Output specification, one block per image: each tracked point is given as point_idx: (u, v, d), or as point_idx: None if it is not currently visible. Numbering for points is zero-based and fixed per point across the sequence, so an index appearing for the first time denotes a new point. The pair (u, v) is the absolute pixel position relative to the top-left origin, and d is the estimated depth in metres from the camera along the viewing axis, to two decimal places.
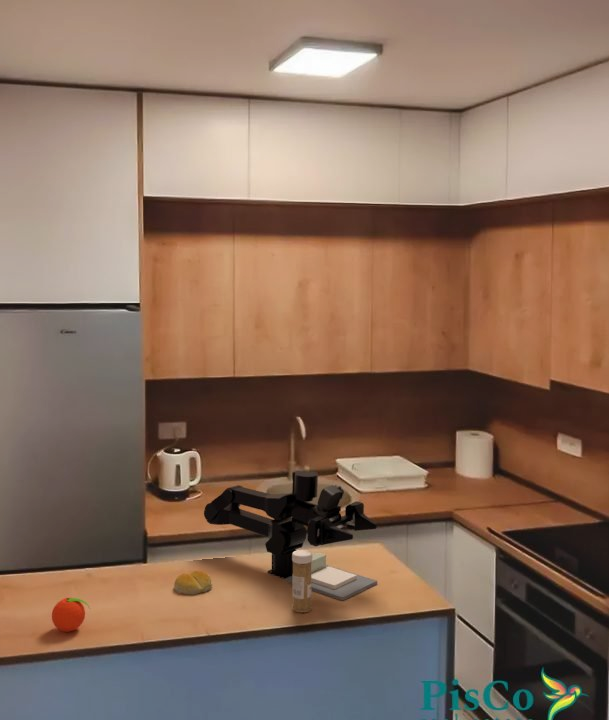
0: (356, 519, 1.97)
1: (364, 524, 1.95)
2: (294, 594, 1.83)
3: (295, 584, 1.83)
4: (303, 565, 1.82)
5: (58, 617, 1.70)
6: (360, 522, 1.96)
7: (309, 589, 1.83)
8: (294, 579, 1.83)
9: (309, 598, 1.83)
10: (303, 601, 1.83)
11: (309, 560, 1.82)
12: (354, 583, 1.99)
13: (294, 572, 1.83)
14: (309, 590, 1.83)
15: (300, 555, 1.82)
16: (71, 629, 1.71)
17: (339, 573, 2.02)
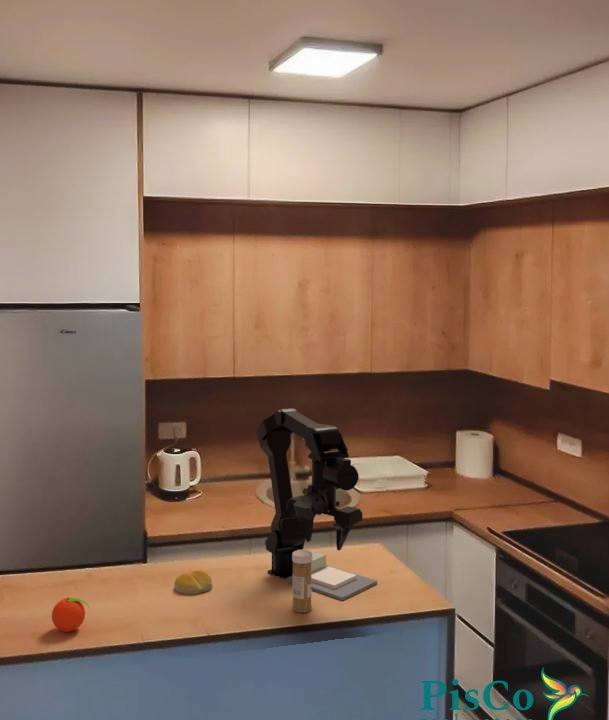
0: None
1: None
2: (294, 594, 1.83)
3: (295, 584, 1.83)
4: (303, 565, 1.82)
5: (59, 617, 1.70)
6: None
7: (309, 589, 1.83)
8: (294, 579, 1.83)
9: (309, 598, 1.83)
10: (303, 601, 1.83)
11: (309, 560, 1.82)
12: (354, 583, 1.99)
13: (294, 572, 1.83)
14: (309, 590, 1.83)
15: (300, 555, 1.82)
16: (71, 629, 1.71)
17: (339, 573, 2.02)
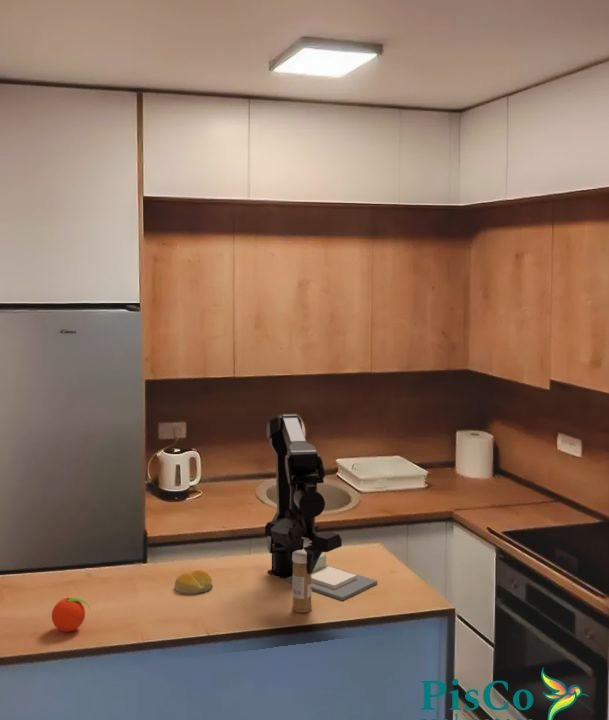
0: None
1: None
2: (294, 594, 1.83)
3: (295, 584, 1.83)
4: (303, 565, 1.82)
5: (58, 617, 1.70)
6: None
7: (309, 589, 1.83)
8: (294, 579, 1.83)
9: (309, 598, 1.83)
10: (303, 601, 1.83)
11: None
12: (354, 583, 1.99)
13: (294, 572, 1.83)
14: (309, 590, 1.83)
15: (300, 555, 1.82)
16: (71, 629, 1.71)
17: (339, 573, 2.02)
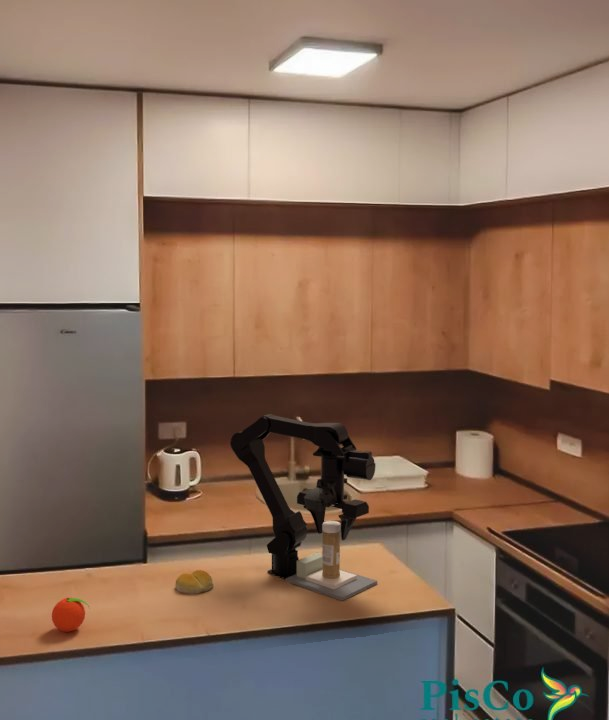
0: None
1: None
2: (324, 561, 1.99)
3: (325, 552, 1.99)
4: (332, 534, 1.98)
5: (59, 617, 1.70)
6: None
7: (338, 556, 1.99)
8: (324, 547, 1.99)
9: (338, 565, 1.99)
10: (332, 567, 1.99)
11: (338, 530, 1.98)
12: (354, 583, 1.99)
13: (324, 541, 1.99)
14: (338, 557, 1.99)
15: (330, 525, 1.98)
16: (71, 629, 1.71)
17: None
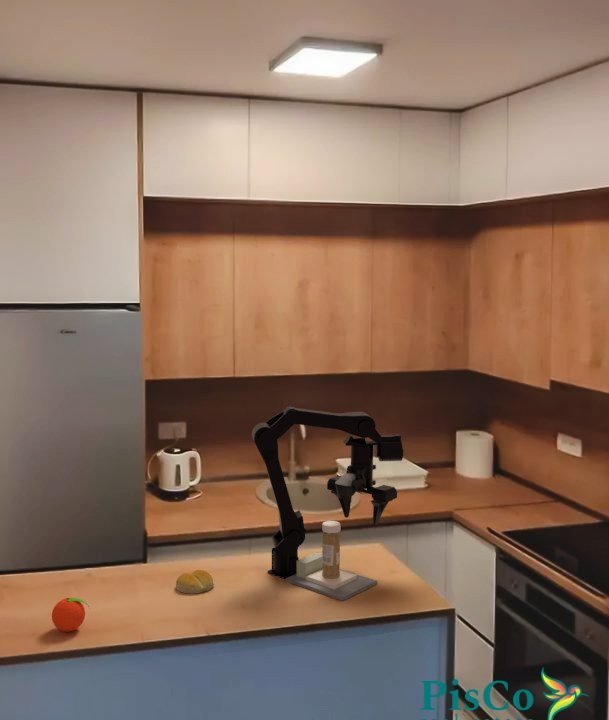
0: None
1: None
2: (324, 561, 1.99)
3: (325, 552, 1.99)
4: (332, 534, 1.98)
5: (59, 617, 1.70)
6: None
7: (338, 556, 1.99)
8: (324, 547, 1.99)
9: (338, 565, 1.99)
10: (332, 567, 1.99)
11: (338, 530, 1.98)
12: (354, 583, 1.99)
13: (324, 541, 1.99)
14: (338, 557, 1.99)
15: (330, 525, 1.98)
16: (71, 629, 1.71)
17: None
